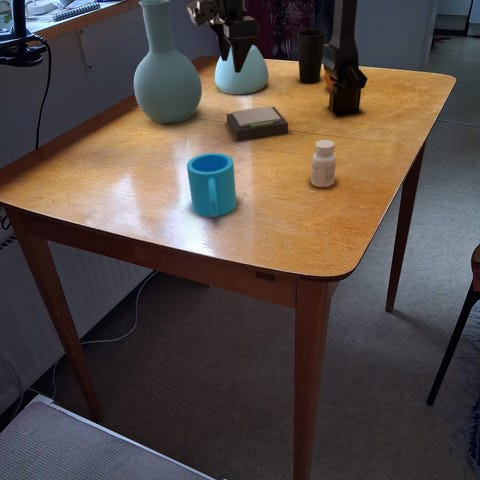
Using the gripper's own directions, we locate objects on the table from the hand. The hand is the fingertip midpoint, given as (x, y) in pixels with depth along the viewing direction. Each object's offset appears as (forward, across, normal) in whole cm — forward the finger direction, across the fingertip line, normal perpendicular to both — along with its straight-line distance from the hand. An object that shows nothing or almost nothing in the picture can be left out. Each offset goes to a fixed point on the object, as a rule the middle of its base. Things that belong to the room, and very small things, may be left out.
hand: (230, 66), depth 103 cm
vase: (+15, -17, -10) cm, 25 cm away
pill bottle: (+14, +30, +9) cm, 35 cm away
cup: (+13, -25, +31) cm, 42 cm away
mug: (+15, +32, -14) cm, 38 cm away
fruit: (+12, -14, +35) cm, 40 cm away
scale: (+14, 0, +6) cm, 15 cm away
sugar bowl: (+14, -30, +13) cm, 35 cm away
